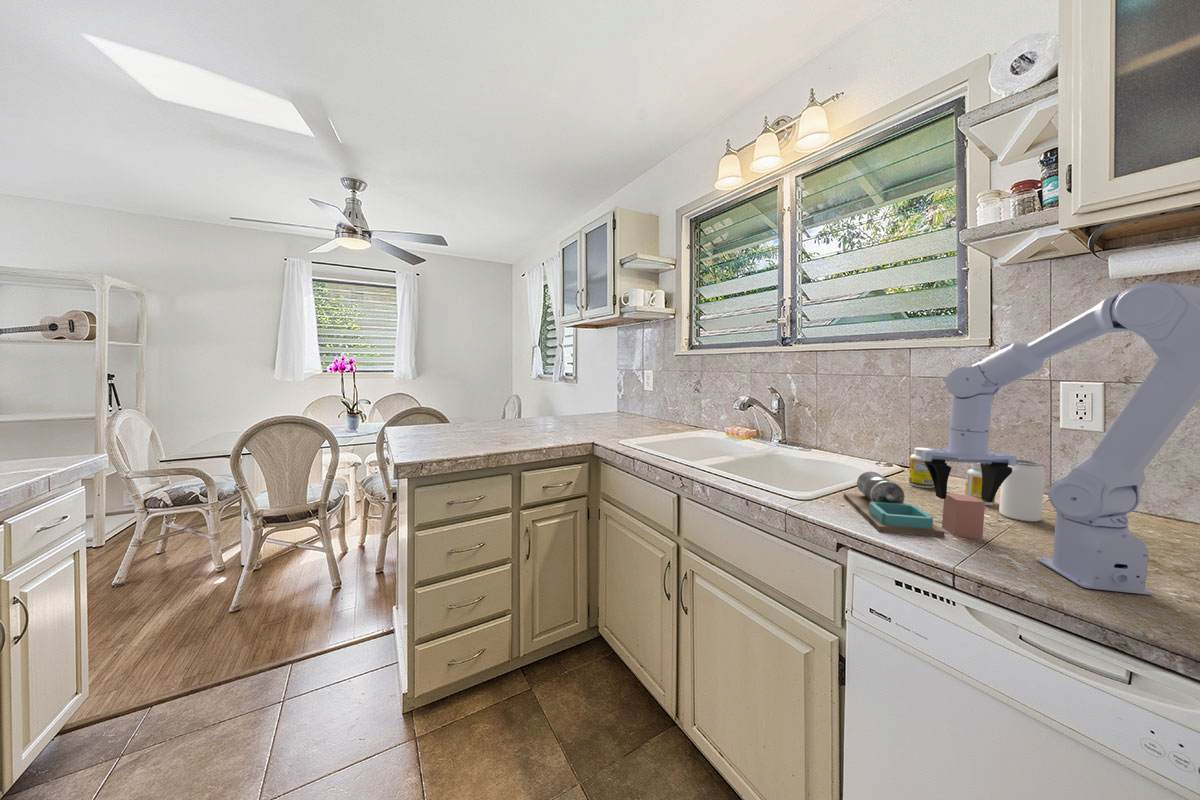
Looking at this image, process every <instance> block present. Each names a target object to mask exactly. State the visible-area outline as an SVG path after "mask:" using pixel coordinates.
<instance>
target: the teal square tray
mask: <svg viewBox="0 0 1200 800" xmlns="http://www.w3.org/2000/svg"><path fill="white" fill-rule="evenodd" d="M869 512H870V513H871V514H872V515H873V516H874V517H875V518H876V519H877V520H879V521H880V522H881V523H884V524H886V525H891V526H903V527H915V528H927V529H932V524H934V523H933V521H934V516H932V515H931V514H929V513H928V512H926V511H924V510H923V509H921V508H920V507H919V506H917V505H913V504H911V503H910V504H909V503H904V504H899V503H885V502H871V501H870V503H869ZM887 513H892V514H887ZM897 514H905V515H897ZM910 515H911V516H910Z"/></svg>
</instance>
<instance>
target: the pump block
mask: <svg viewBox="0 0 1200 800" xmlns="http://www.w3.org/2000/svg"><path fill="white" fill-rule="evenodd" d="M985 507H986V505H985V502H984V501H982V500H980V499H978V498H976V497H974V496H972V495H965V494H959V493H947V494H946V499H943V507H942V521H941V528H943V530H946V531H947V532H949V533H950V534H951V535H952V536H955V537H962V538H963V537H964V538H975V539H983V534H984V523H985V511H986V509H985Z"/></svg>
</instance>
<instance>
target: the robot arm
mask: <svg viewBox="0 0 1200 800" xmlns="http://www.w3.org/2000/svg"><path fill="white" fill-rule="evenodd" d="M1121 332H1122V333H1123V332H1133V333H1135V334H1136V335H1138V336H1139V337H1141V338H1143V340H1144V341H1145V342H1146V343H1147V344H1148V346H1149V347H1150V349H1152V351H1153V352H1154V353H1155V354H1156V356H1157V358H1158V359H1157V361H1156V362H1155V364H1154V365H1153V366H1152V367H1151V370H1150V371H1149V372H1148V374H1146V377H1145V378H1144V379H1143V381H1142V382H1141V383H1140V385H1139V386H1138V387H1137V389H1136V391H1134V394H1133V395H1132V396H1131V398H1130V399H1129V400H1128V402H1127V403H1126V405H1125V407H1124V408H1123V409H1122V410H1121V412H1120V414H1119V415H1118V416H1117V418H1116V419H1115V420H1114V422H1113V423H1112V425H1111V426H1110V427H1109V429H1108V431H1107V432H1106V433H1105V435H1104V436H1103V437H1102V439H1101V440H1100V442H1099V444H1098V445H1097V446H1096V448H1095V449H1094V451H1092V453H1091V455H1089V457H1087V458H1085V459H1083V460H1082V461H1081V462H1080V463H1078V464H1077V465H1075V466H1074V467H1072V469H1071V470H1070V472H1069V473H1068V474H1067V475H1066V476H1064V477H1062V478H1060V479H1057V480H1056V481H1054V482H1053V483H1052V484H1051V485H1050V487H1049V488H1048V491H1047V496H1048V497H1047V498H1048V501H1049V503H1050V504H1051V506H1052V507H1053V509H1055V511H1056V515H1055V525H1054V527H1055V528H1054V537H1053V545H1052V546H1053V549H1052V558H1050V557H1042V556H1041V557H1040V556H1039V557H1038V556H1037V557H1036V561H1037V562H1039V563H1040V564H1043V565H1044V566H1045V567H1048V568H1049V569H1051V570H1052V571H1054V572H1056V573H1058V574H1060V575H1061V576H1063V577H1064V578H1067V579H1068V580H1070V581H1072V582H1073V583H1075V584H1077V585H1078V586H1080V587H1082V588H1085V589H1091V590H1092V589H1093V590H1099V591H1100V590H1102V591H1110V592H1119V593H1127V594H1129V593H1130V594H1138V595H1147V596H1148V595H1149V596H1150V595H1153V591H1151V590H1150V589H1148V588H1146V583H1147V582H1146V580H1147V573H1148V564H1149V554H1150V553H1149V549H1148V547H1147V545H1146V544H1145V543H1144V541H1143V540H1142V539H1140V538H1139V537H1137V536H1136V535H1134V534H1133V533H1132V531H1130V529H1129V519H1128V516H1127V514H1129V513H1131V512H1134V511H1135V510H1136V509H1137V508H1138V506H1139V505H1140V503H1141V490H1142V487H1143V485H1144V484H1145V483H1146V481H1147V479H1146V478H1147V477H1146V475H1145V473H1144V470H1146V468H1147V467H1148V465H1150V463H1151V462H1152V460H1153V459H1154V458H1155V456H1156V455H1157V454H1158V453H1159V451H1160V450H1161V449H1162V447H1164V445H1165V444H1166V442H1167V441H1168V439H1170V437H1171V435H1173V433H1174V432H1175V431H1176V429H1177V428H1178V427H1179V426H1180V424H1181V423H1182V421H1184V420H1185V418H1186V417H1187V415H1188V414H1189V413H1190V411H1191V410H1192V409H1193V408H1194V406H1195V405H1196V404H1197V402H1198V401H1199V399H1200V285H1197V284H1175V283H1169V282H1167V281H1146V282H1141V283H1139V284H1134V285H1133V286H1131V287H1129V288H1127V289H1125V290H1124V291H1123V292H1121V294H1119V293H1118V294H1117V293H1116V294H1114V295H1112V296H1110V297H1106V298H1104V299H1103V300H1102V301H1100V302H1099V303H1098V304H1096V305H1095V306H1093V307H1091V308H1090V309H1087V310H1086V311H1084V312H1082V313H1080V315H1078V316H1076V317H1074V318H1072V319H1070V320H1069V321H1067V322H1065V323H1063V324H1061V325H1060V326H1057V327H1056V328H1054V329H1052V330H1051V331H1049V332H1047V333H1046V334H1044V335H1042V336H1040V337H1039V338H1037V339H1034V340H1033V341H1031V342H1029V343H1027V342H1020V341H1019V342H1013V343H1008V342H1007V343H1005V344H1002V345H1000V346H999V349H1000V350H999V351H997V352H994V353H993V354H991V355H989V356H987V357H984V358H983V359H980V358H979V359H976V360H974V361H972V363H973V364H972V365H971V366H966V365H965V366H958V367H956V368H954V369H953V370H951V372H950V373H949V374H948V375H947V376H946V379H945V386H946V389H947V391H948V392H949V393H950V394H951V406H950V423H949V435H948V448H947V449H932V450H921V459H922V460H924V463H925V465H926V466H927V468H928V470H929V472H930V475H931V477H932V480H933V483H934V487H933V488H934V491H935V496H936V497H937V498H939V499H941V500H944V499H946V494H948V493H947V491H948V481H949V477H950V474H951V470H952V466H950V465H948V463H947V462H950V463H970V464H971V463H980V465H981V471H982V491H981V497H982V499H983V500H985V501H987V502H993V499H994V497H995V498H996V494H997V492H998V491H999V489H1000V488H1001V484H1002V483H1003V481H1004V480H1005V479H1006V478H1007V477H1008V476H1009V475H1010V474H1011V473H1012V468H1011V467H1008V465H1010V466H1015V464H1016V460H1017V455H1015V454H1012V453H1005V452H1003V453H1002V452H991V451H988V450H989V438H990V428H991V416H992V404H993V402H994V397H995V395H996V394H998V393H999V392H1000V391H1001V388H1002V387H1005V386H1007V385H1009V384H1011V383H1012V384H1013V383H1014V382H1016V381H1018V380H1020V379H1022V378H1024V377H1027V376H1029V375H1032V374H1034V373H1036V372H1038V371H1040V370H1041V369H1042V368H1043V367H1044V363H1045V360H1046V359H1048V358H1051V357H1052V356H1056V355H1058V354H1060V353H1062V352H1064V351H1067V350H1070V349H1073V348H1075V347H1077V346H1079V345H1082V344H1084V343H1086V342H1089V341H1091V340H1093V339H1096V338H1098V337H1100V336H1103V335H1105V334H1108V333H1121Z"/></svg>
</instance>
